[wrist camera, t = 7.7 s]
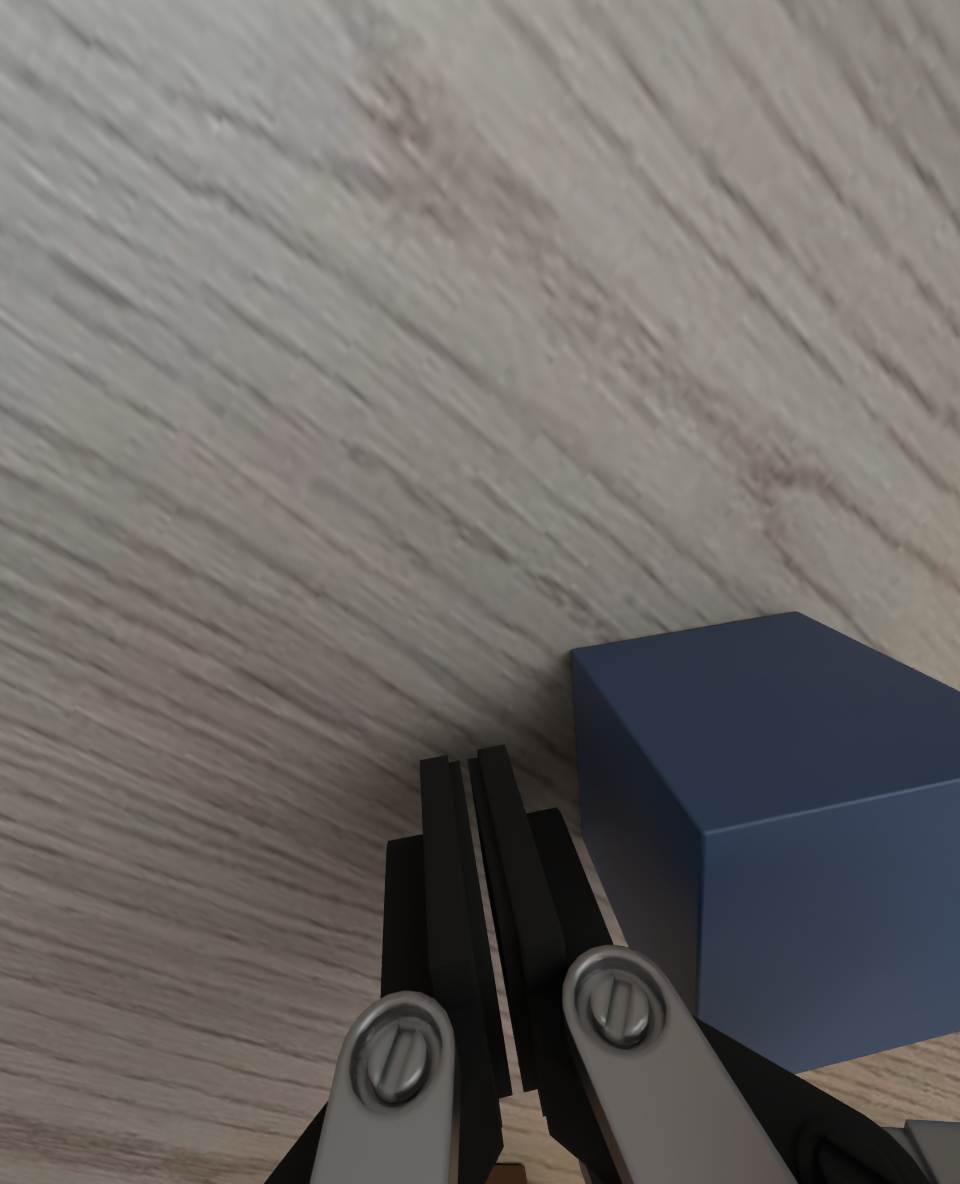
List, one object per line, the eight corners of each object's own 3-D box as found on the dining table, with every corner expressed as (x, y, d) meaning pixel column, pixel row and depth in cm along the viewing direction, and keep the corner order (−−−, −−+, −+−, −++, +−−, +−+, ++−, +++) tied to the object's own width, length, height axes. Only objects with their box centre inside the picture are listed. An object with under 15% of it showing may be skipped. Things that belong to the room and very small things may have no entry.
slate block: (582, 840, 12) (693, 1102, 8) (569, 648, 11) (703, 834, 6) (779, 798, 13) (999, 1022, 8) (796, 610, 11) (1087, 752, 6)
